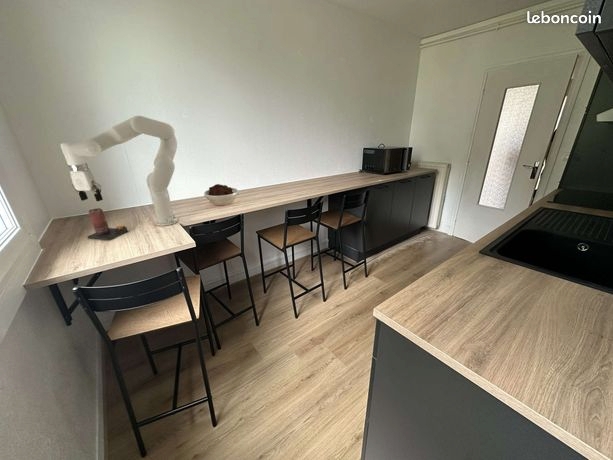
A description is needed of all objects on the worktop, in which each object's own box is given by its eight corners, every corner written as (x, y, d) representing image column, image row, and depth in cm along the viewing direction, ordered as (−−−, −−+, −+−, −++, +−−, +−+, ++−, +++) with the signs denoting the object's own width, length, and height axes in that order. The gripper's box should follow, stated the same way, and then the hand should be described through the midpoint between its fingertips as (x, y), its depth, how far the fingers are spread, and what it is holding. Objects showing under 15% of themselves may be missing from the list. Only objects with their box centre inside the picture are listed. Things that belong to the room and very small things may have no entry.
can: (100, 231, 144) (92, 208, 138) (112, 230, 145) (104, 207, 139) (93, 235, 139) (84, 211, 133) (105, 235, 139) (97, 211, 133)
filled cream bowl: (238, 197, 210) (236, 179, 204) (240, 206, 188) (238, 186, 182) (206, 200, 203) (203, 181, 197) (205, 210, 181) (201, 189, 175)
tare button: (124, 228, 145) (123, 225, 145) (120, 229, 143) (119, 227, 142) (120, 227, 146) (119, 225, 145) (116, 229, 143) (116, 227, 143)
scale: (130, 231, 147) (128, 226, 146) (110, 240, 136) (108, 235, 135) (109, 229, 150) (107, 224, 149) (88, 238, 139) (86, 233, 137)
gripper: (57, 169, 125) (72, 201, 132) (86, 169, 122) (99, 203, 129) (73, 166, 132) (86, 197, 139) (100, 166, 129) (112, 198, 136)
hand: (92, 200), depth 134 cm, fingers open, 9 cm apart
